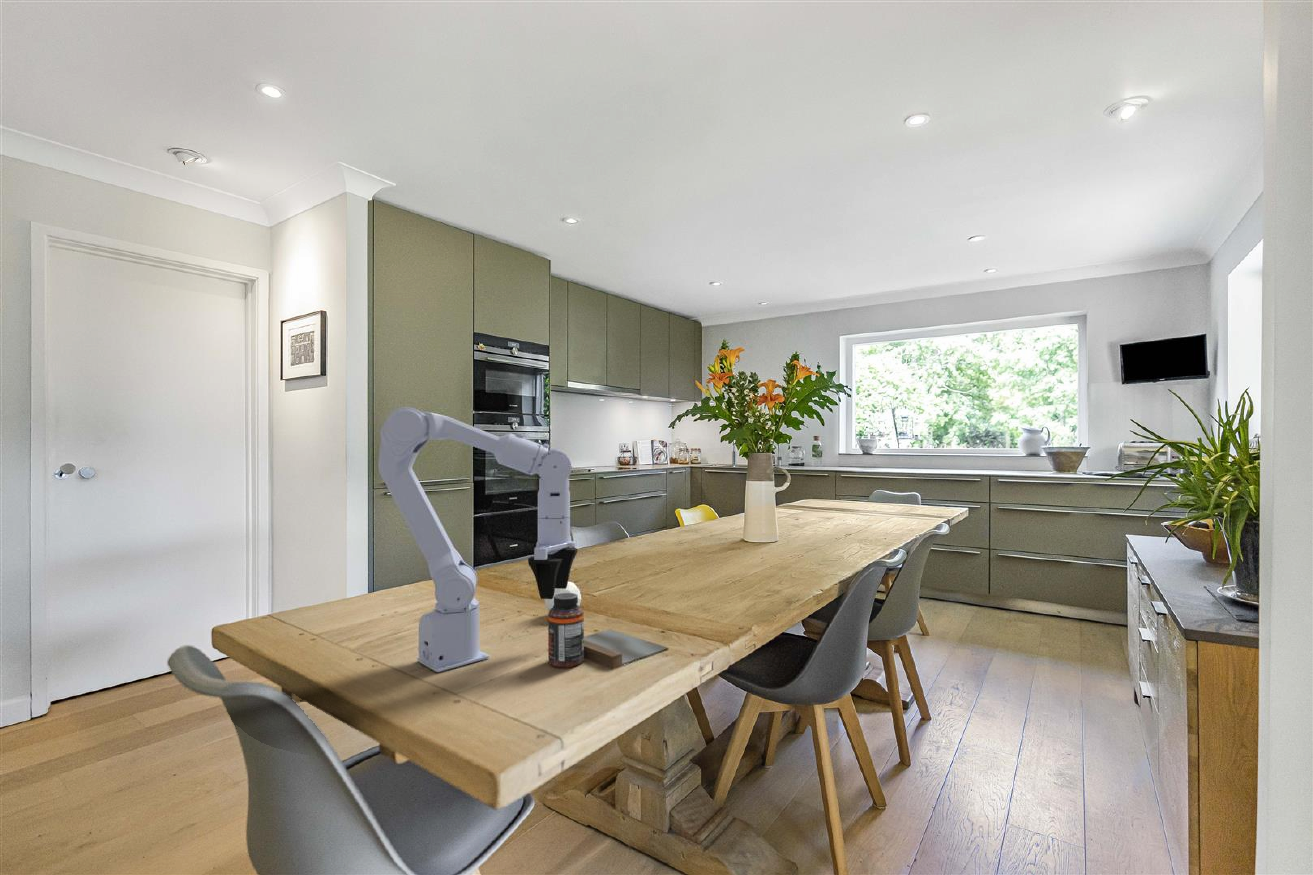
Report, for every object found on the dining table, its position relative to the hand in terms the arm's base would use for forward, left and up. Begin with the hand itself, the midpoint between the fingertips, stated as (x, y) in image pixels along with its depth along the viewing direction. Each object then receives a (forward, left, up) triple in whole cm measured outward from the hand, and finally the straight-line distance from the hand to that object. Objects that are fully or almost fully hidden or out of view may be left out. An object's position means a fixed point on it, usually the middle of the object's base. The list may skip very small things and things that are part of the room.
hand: (553, 593), depth 107 cm
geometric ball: (+14, +16, -10) cm, 24 cm away
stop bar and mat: (+8, -7, -10) cm, 14 cm away
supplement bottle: (-2, -7, -10) cm, 12 cm away
